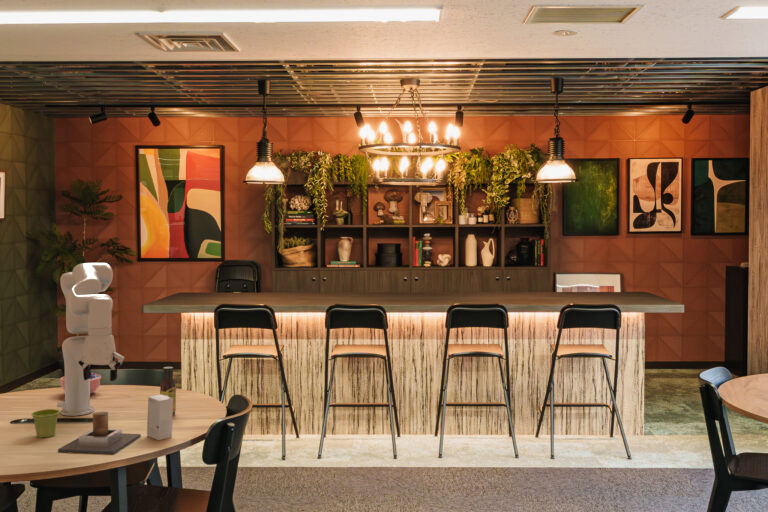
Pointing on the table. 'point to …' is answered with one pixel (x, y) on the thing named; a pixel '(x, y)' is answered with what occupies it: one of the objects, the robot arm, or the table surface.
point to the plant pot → (45, 422)
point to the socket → (100, 442)
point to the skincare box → (160, 417)
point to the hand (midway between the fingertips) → (100, 379)
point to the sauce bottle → (168, 386)
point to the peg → (100, 424)
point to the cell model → (93, 382)
